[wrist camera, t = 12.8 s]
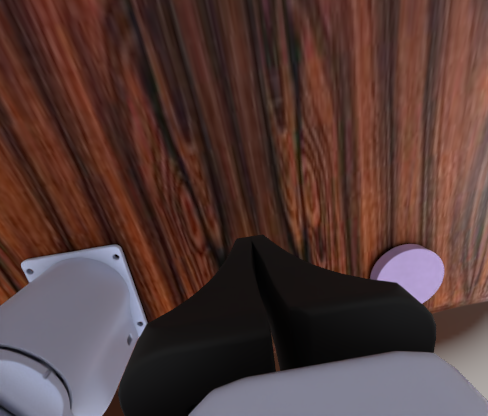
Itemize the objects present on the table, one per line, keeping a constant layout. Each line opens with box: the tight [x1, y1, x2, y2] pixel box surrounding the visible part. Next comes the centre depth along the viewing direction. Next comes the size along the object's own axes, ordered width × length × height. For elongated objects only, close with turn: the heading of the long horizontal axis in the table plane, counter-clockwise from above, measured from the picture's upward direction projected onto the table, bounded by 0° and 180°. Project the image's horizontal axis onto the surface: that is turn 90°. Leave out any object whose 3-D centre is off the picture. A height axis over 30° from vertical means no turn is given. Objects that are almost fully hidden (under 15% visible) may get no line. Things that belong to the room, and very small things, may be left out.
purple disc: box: [370, 244, 444, 304], centre depth 22 cm, size 6×6×1 cm
